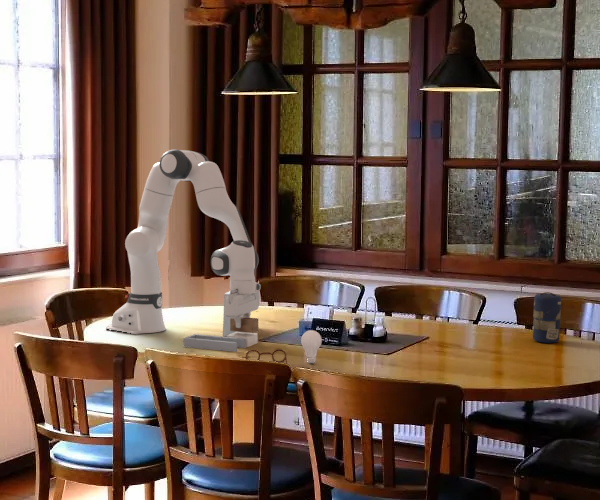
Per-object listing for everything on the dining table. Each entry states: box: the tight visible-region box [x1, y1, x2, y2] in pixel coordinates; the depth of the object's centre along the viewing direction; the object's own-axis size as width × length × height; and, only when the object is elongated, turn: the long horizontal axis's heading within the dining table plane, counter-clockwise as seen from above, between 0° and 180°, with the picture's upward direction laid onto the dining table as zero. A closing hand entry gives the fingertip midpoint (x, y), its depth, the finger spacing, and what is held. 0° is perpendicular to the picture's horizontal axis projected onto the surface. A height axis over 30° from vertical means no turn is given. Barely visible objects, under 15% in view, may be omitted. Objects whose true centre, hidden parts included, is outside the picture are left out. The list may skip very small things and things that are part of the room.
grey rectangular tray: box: [183, 333, 247, 353], centre depth 357 cm, size 20×8×3 cm, turn 67°
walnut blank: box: [230, 317, 259, 333], centre depth 361 cm, size 9×4×4 cm, turn 67°
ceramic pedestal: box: [226, 332, 259, 348], centre depth 362 cm, size 8×8×4 cm
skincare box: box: [222, 290, 244, 337], centre depth 384 cm, size 21×6×16 cm, turn 168°
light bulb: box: [300, 329, 323, 365], centre depth 331 cm, size 7×7×11 cm
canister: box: [532, 291, 562, 344], centre depth 369 cm, size 10×10×18 cm
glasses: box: [245, 348, 288, 365], centre depth 326 cm, size 13×13×5 cm
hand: (242, 326), depth 361 cm, fingers closed on walnut blank, 4 cm apart
